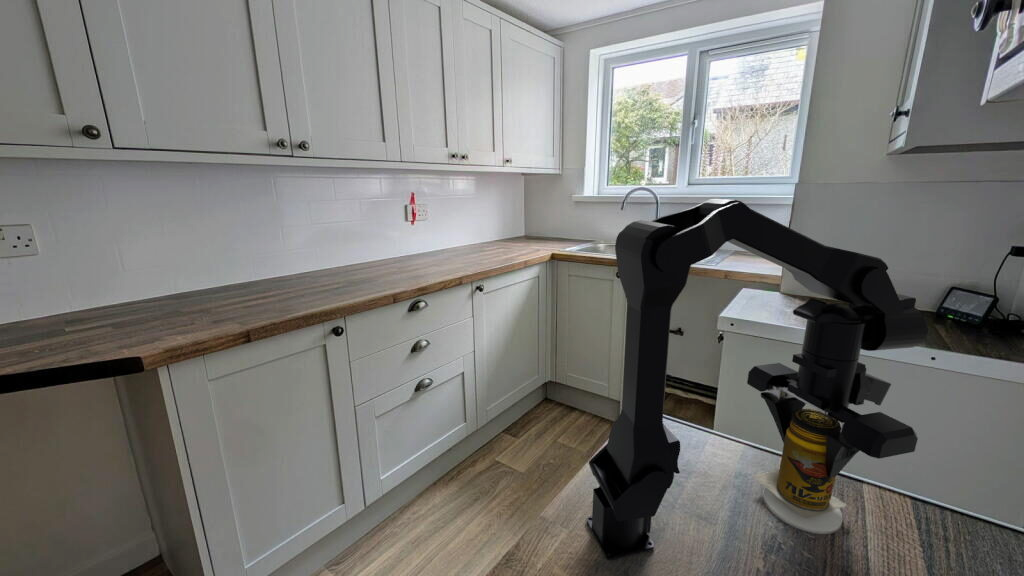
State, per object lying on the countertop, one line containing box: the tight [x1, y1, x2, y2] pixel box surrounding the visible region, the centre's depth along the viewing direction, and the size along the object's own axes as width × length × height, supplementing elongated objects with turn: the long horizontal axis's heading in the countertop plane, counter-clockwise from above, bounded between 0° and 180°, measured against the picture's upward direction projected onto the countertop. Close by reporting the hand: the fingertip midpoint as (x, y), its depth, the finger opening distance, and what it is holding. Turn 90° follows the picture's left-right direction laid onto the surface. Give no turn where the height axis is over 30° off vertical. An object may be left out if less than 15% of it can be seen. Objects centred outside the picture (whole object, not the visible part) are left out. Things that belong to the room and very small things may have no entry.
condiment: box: [751, 408, 848, 518], centre depth 58 cm, size 7×8×12 cm
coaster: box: [762, 486, 843, 535], centre depth 59 cm, size 9×9×1 cm
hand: (808, 460), depth 57 cm, fingers closed on condiment, 6 cm apart
